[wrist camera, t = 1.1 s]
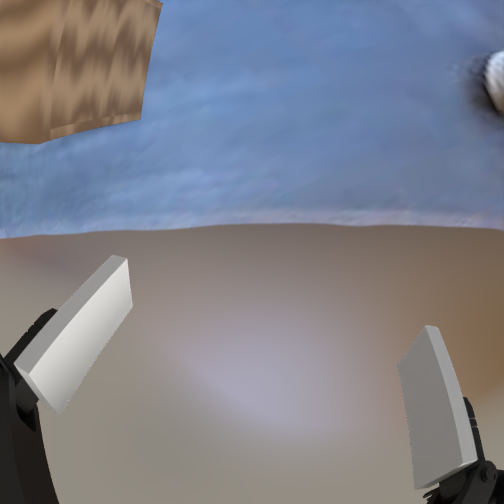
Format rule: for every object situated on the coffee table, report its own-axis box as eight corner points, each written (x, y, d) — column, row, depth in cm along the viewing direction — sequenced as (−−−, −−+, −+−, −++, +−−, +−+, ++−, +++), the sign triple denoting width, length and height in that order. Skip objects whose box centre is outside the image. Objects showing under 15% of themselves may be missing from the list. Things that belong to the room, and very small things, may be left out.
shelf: (76, 17, 25) (-14, 9, 9) (162, 3, 24) (72, -39, 9) (60, 115, 34) (-31, 141, 18) (140, 119, 33) (38, 144, 17)
